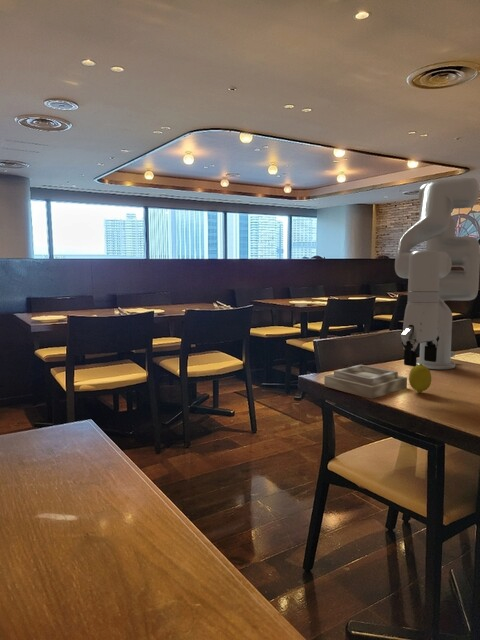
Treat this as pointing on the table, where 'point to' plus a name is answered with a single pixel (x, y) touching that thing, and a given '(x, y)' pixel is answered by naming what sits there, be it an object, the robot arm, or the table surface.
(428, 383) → the lemon
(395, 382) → the stand
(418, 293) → the robot arm
